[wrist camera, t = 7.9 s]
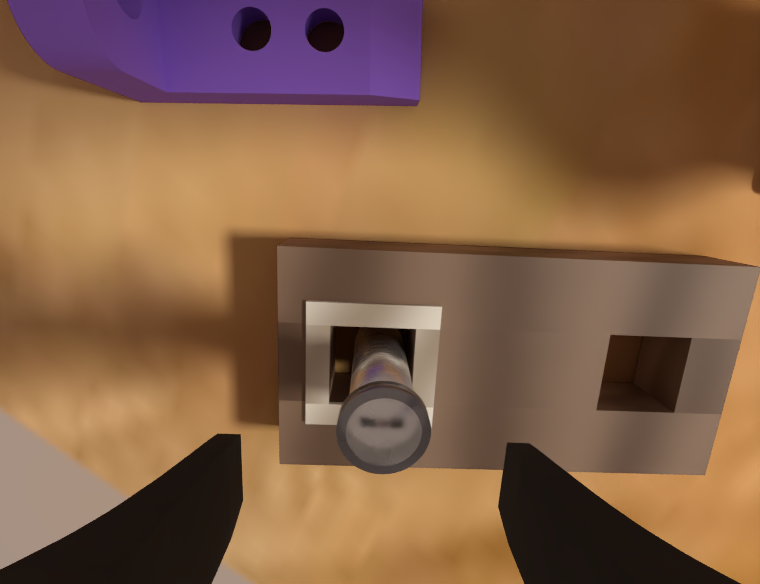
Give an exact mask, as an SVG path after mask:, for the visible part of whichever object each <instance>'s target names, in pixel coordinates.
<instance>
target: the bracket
mask: <svg viewBox="0 0 760 584" xmlns="http://www.w3.org/2000/svg"><path fill="white" fill-rule="evenodd" d="M7 1H8V4H9V7H10V9H11V12H12V14H13V17H14V19H15V21H16V23H17V25H18V27H19V29H20V30H21V32H22V34H23V35H24V37H25V39H26V40H27V42H28V43H29V44H30V46H31V47H32V48H33V50H34V51H35V52H36V53H37V54H38V55H39V56H40V57H41V58H42V59H43V60H44V61H45V62H46V63H47V64H48V65H50V66H51V67H53V68H54V69H56V70H58V71H60V72H63V73H65V74H68V75H71V76H73V77H76V78H79V79H81V80H84V81H86V82H89V83H92V84H94V85H97V86H100V87H102V88H105V89H107V90H110V91H113V92H115V93H118V94H121V95H123V96H126V97H128V98H131V99H134V100H136V101H139V102H154V103H228V104H302V105H377V106H417V104H418V103H419V101H420V75H421V41H422V6H423V0H7ZM259 20H267V21H270V24H271V37H270V40H269V42H268V43H267V45H266V46H265V47H264V48H262V49H260V50H257V51H249V50H246V49H244V48H242V47H241V39H242V35H243V33H244V31H245V30H246V28H247V27H248V26H249V25H250V24H252V23H254V22H256V21H259ZM326 21H332V22H336V23H339V24H341V25H342V26H343V27H344V37H343V40H342V42H341V44H340V45H339V46H338V47H337V48H336V49H334V50H333V51H330V52H321V51H318V50H316V49H314V48H313V47H312V46H311V45H310V44H309V42H308V40H307V37H308V35H309V33H310V31H311V30H312V29H313V28H314V27H315V26H316V25H318V24H320V23H322V22H326Z"/></svg>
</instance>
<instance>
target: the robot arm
mask: <svg viewBox="0 0 760 584" xmlns="http://www.w3.org/2000/svg"><path fill="white" fill-rule="evenodd" d="M242 502H243V486H242V460H241V434H217V435H215V436H214V437H212V438H211V439H209V440H208V441H207V442H205V443H204V444H203V445H201V446H200V447H199V448H198V449H196V450H195V451H194V452H192V453H191V454H190V455H188V456H187V457H186V458H184V459H183V460H182V461H180V462H179V463H178V464H176V465H175V466H174V467H172V468H171V469H170V470H168V471H167V472H166V473H164V474H163V475H162V476H160V477H159V478H158V479H156V480H155V481H153V482H152V483H150V484H149V485H147V486H146V487H144V488H143V489H141V490H140V491H139V492H137V493H136V494H134V495H133V496H131V497H130V498H128V499H127V500H125V501H124V502H122V503H121V504H120V505H118V506H116V507H115V508H113V509H112V510H110V511H109V512H107V513H105V514H104V515H102V516H100V517H99V518H97V519H96V520H94V521H92V522H90V523H88V524H87V525H85V526H83V527H81V528H80V529H78V530H76V531H75V532H73V533H71V534H69V535H67V536H66V537H64V538H62V539H60V540H59V541H56V542H54V543H52V544H50V545H48V546H46V547H44V548H42V549H41V550H38V551H37V552H35V553H33V554H31V555H29V556H27V557H25V558H23V559H21V560H19V561H17V562H15V563H13V564H11V565H9V566H7V567H5V568H3V569H0V584H212V581H213V579H214V577H215V575H216V572H217V570H218V568H219V566H220V563H221V561H222V559H223V556H224V554H225V552H226V549H227V547H228V545H229V542H230V540H231V537H232V534H233V531H234V528H235V525H236V522H237V518H238V515H239V512H240V508H241V505H242ZM498 507H499V511H500V515H501V519H502V523H503V526H504V530H505V533H506V537H507V540H508V544H509V546H510V549H511V552H512V554H513V557H514V559H515V562H516V564H517V567H518V569H519V572H520V574H521V576H522V579H523V581H524V584H740V583H738V582H736V581H735V580H733V579H731V578H729V577H727V576H725V575H723V574H721V573H720V572H718V571H716V570H714V569H712V568H710V567H708V566H707V565H705V564H703V563H701V562H699V561H697V560H696V559H694V558H692V557H690V556H689V555H687V554H685V553H683V552H682V551H680V550H678V549H677V548H675V547H673V546H672V545H670V544H669V543H667V542H665V541H664V540H662V539H660V538H659V537H657V536H655V535H654V534H652V533H651V532H649V531H647V530H646V529H644V528H643V527H641V526H640V525H638V524H637V523H635V522H634V521H632V520H631V519H629V518H628V517H627V516H625V515H624V514H622V513H621V512H619V511H618V510H617V509H615V508H614V507H612V506H611V505H609V504H608V503H607V502H605V501H604V500H603V499H601V498H600V497H599V496H597V495H596V494H595V493H593V492H592V491H591V490H589V489H588V488H587V487H585V486H584V485H583V484H581V483H580V482H579V481H578V480H576V479H575V478H574V477H572V476H571V475H570V474H569V473H567V472H566V471H565V470H564V469H562V468H561V467H560V466H559V465H557V464H556V463H555V462H554V461H552V460H551V459H550V458H548V457H547V456H546V455H545V454H543V453H542V452H541V451H539V450H538V449H537V448H535V447H534V446H533V445H531V444H530V443H508V442H507V446H506V453H505V460H504V468H503V475H502V483H501V490H500V497H499V505H498Z"/></svg>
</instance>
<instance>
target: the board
mask: <svg viewBox="0 0 760 584" xmlns="http://www.w3.org/2000/svg"><path fill="white" fill-rule="evenodd" d="M759 273H760V267H758V266H752V265H747V264H742V263H737V262H732V261H727V260H722V259H717V258H712V257H706V256H691V255H668V254H646V253H624V252H601V251H579V250H556V249H534V248H511V247H489V246H466V245H444V244H421V243H399V242H376V241H354V240H331V239H309V238H290V239H288V240H286V241H285V242H283V243H281V244H279V245H278V246H277V291H278V374H279V457H280V464H302V465H340V466H354V465H353V464H352V463H350V462H349V461H348V460H347V459H346V457H345V456H344V455H343V453H342V452H341V450H340V448H339V446H338V442H337V437H336V427H337V420H338V414H339V411H340V408H341V406H342V404H343V402H344V401H345V399H346V398H347V397H348V396H349V394H350V384H351V374H352V373H335V341H336V326H351V327H377V328H404V329H408V337H407V352H406V358H407V363H408V367H409V372H410V377H411V381H412V386H413V391H414V392H416V393H417V394H418V395H419V397H420V398H421V399H422V401H423V402H424V404H425V406H426V409H427V412H428V416H429V420H430V424H431V438H430V442H429V445H428V447H427V449H426V451H425V453H424V454H423V455H422V457H421V458H420V459H419V460H418V461H417V462H416V463H414V464H413V465H412V466H410V467H415V468H452V469H490V470H503V468H504V460H505V453H506V446H507V442H508V443H530V444H531V445H533V446H534V447H535V448H537V449H538V450H539V451H541V452H542V453H543V454H545V455H546V456H547V457H548V458H550V459H551V460H552V461H554V462H555V463H556V464H557V465H559V466H560V467H561V468H562V469H564V470H565V471H566V472H603V473H641V474H678V475H705V473H706V469H707V466H708V462H709V458H710V455H711V451H712V447H713V443H714V440H715V436H716V432H717V429H718V425H719V421H720V417H721V414H722V410H723V406H724V403H725V399H726V395H727V392H728V388H729V384H730V380H731V377H732V373H733V369H734V366H735V362H736V358H737V354H738V351H739V347H740V343H741V340H742V336H743V332H744V329H745V325H746V321H747V317H748V314H749V310H750V306H751V303H752V299H753V295H754V291H755V288H756V284H757V280H758V277H759ZM610 335H629V336H643V339H642V344H641V349H640V353H639V358H638V363H637V368H636V372H635V377H634V382H633V383H620V382H602V377H603V372H604V367H605V362H606V356H607V351H608V346H609V340H610Z"/></svg>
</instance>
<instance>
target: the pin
mask: <svg viewBox="0 0 760 584" xmlns="http://www.w3.org/2000/svg"><path fill="white" fill-rule="evenodd" d="M336 437H337V442H338V446H339V448H340V450H341V452H342V453H343V455H344V456H345V457H346V459H347V460H348V461H349V462H350V463H352V464H353V465H354V466H356V467H358V468H359V469H362V470H364V471H367V472H370V473H375V474H391V473H396V472H399V471H402V470H404V469H407V468H408V467H410V466H412V465H413V464H414V463H416V462H417V461H418V460H419V459H420V458H421V457H422V455H423V454H424V453H425V451H426V449H427V447H428V445H429V442H430V438H431V424H430V420H429V416H428V412H427V409H426V406H425V404H424V402H423V401H422V399H421V398H420V397H419V395H418V394H417V393H416V392H414V391H413V386H412V381H411V377H410V372H409V367H408V363H407V358H406V354H405V349H404V344H403V340H402V336H401V333H400V331H399V330H398V328H377V327H361V328H360V329H359V331H358V332H357V334H356V337H355V345H354V355H353V365H352V374H351V384H350V394H349V396H348V397H347V398H346V399H345V401H344V402H343V404H342V406H341V408H340V411H339V414H338V420H337V427H336Z"/></svg>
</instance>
